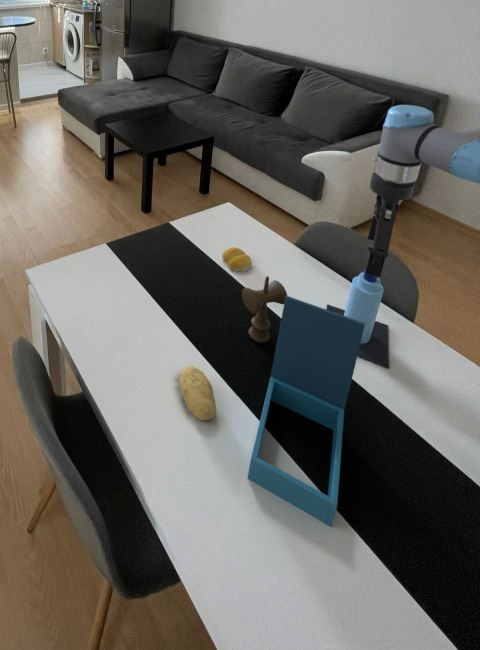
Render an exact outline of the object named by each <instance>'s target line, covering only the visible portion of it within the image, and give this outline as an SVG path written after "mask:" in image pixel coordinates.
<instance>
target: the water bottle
mask: <svg viewBox="0 0 480 650" xmlns="http://www.w3.org/2000/svg"><path fill="white" fill-rule="evenodd" d="M365 271H366V267H364V270H363V272H359V274H358V275H355V276H354V277H353V278H352V282H351V285H350V289H349V293H348V297H347V302H346V305H345V309H344V310H345V313H344V316H346V317H349V318H351V319H354V320H357V321H360V322H363V323H365V327H364V331H363V335H362V339H361V343H362V344H363V343H367V342H368V341H369V340H370V337H371V334H372V330H373V327H374V323H375V321H377V320H376V319H377V316H378V312H379V309H380V305H381V302H382V298H383V295H384V292H385V289H384V287H383V285H382V284H381V279H380V277H376V276H373V275H370V274H366V273H365Z"/></svg>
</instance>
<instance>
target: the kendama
mask: <svg viewBox="0 0 480 650" xmlns="http://www.w3.org/2000/svg"><path fill="white" fill-rule="evenodd" d="M286 296H288V293H287V290H286V288H285V287H284V285H283V284H282V283H281V282H279V280H273V281H271V282H270V278H269V276H268V275H266V277H265V280H264V285H263V289H259V290H256V289H255V290H254V289H252V288H249V287H244V288H243V289H242V291H241V298H242V301H243V304H244V306H245V308H246V309H247V310H248V312H250V313H251V314H253V315H255V316H254V317H252V318H251V319H250V321H251V325H252V326H251V327H249V329H248V335H249V337H250V339H252V340H253V341H254V342H256V343H258V344H264V343H265V344H266V343H267V342H269V341H270V339H271V335H270V333H269V331H268V330H270V328H271V322H270V321H269V319H268V307H267V306H268V304H269V303H276V304H280V305H284V302H285V297H286Z"/></svg>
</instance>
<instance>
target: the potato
mask: <svg viewBox="0 0 480 650" xmlns="http://www.w3.org/2000/svg"><path fill="white" fill-rule="evenodd" d="M179 389H180V393H181V396H182V397H183V400H184V402H185V405H186V407H187V408H188V410H189V411H190V412H191V413H192V414H193V416H194V417H196V418H198V419H199V420H201V421H209V420H210V419H212V418H213V417H215V414H216V411H217V405H216V399H215V395H214V391H213V386H212V383H211V381H210V380H209V378H207V375H205V373H204V372H203V371H202V370H201V369H199V368H198V367H196V366H192V365H191V366H187V367H184V368H183V369H182V371H181V372H180V375H179Z"/></svg>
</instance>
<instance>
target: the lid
mask: <svg viewBox="0 0 480 650" xmlns="http://www.w3.org/2000/svg"><path fill="white" fill-rule="evenodd" d="M364 327H365V323H363V322H360V321H357V320H354V319H351V318H349V317H346V316H343V315H340V314H337V313H334V312H332V311H329V310H327V308H326V309H325V308H323V307H320V306H317V305H314V304H311V303H309V302H306V301H303V300H301V299H297V298H295V297H291V296H289V295H287V296H286V297H285V302H284V304H283V308H282V313H281V320H280V324H279V330H278V335H277V341H276V345H275V350H274V351H275V352H274V357H273V361H272V362H273V363H272V366H271V367H272V368H271V372H270V377H274V378H276V379H278V380H280V381H282V382H285V383H287V384H289V385H291V386H294V387H296V388H298V389H300V390H302V391H305V392H307V393H309V394H311V395H314V396H316V397H318V398H320V399H322V400H325V401H327V402H329V403H331V404H334V405H336V406H338V407H340V408H342V409H344V410H345V409H346V405H347V401H348V397H349V393H350V388H351V386H352V385H351V384H352V381H353V377H354V372H355V369H356V363H357V360H358V357H357V356H358V352H359V348H360V343H361V339H362V335H363V331H364Z"/></svg>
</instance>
